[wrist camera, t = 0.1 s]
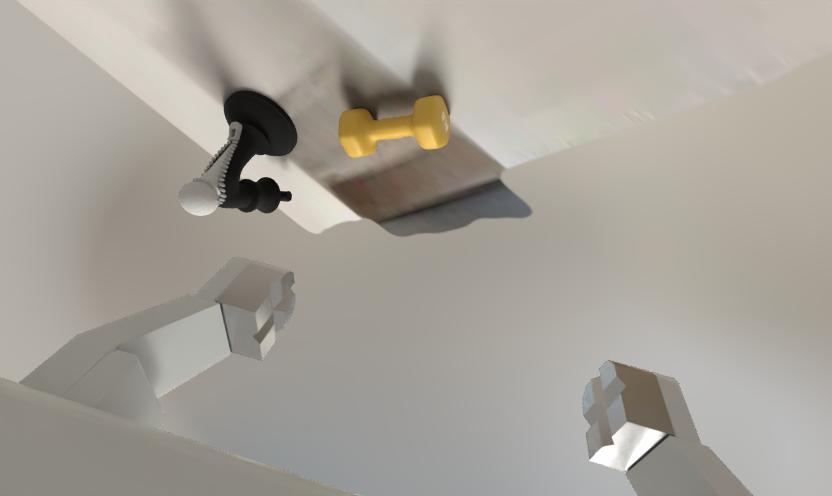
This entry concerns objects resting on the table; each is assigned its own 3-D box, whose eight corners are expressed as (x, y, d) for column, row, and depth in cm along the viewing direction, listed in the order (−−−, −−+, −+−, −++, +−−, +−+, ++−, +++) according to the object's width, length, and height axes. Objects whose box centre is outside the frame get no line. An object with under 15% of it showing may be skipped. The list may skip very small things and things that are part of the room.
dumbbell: (365, 139, 76) (350, 168, 72) (344, 99, 70) (326, 127, 65) (457, 128, 68) (447, 159, 64) (443, 81, 62) (431, 112, 57)
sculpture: (272, 87, 72) (194, 181, 58) (327, 181, 89) (277, 270, 76) (211, 94, 77) (127, 181, 63) (274, 181, 95) (219, 264, 81)
